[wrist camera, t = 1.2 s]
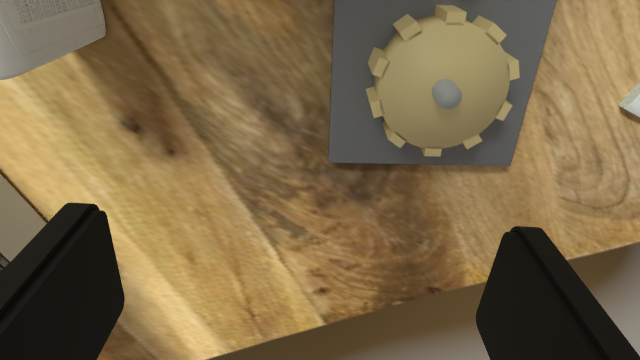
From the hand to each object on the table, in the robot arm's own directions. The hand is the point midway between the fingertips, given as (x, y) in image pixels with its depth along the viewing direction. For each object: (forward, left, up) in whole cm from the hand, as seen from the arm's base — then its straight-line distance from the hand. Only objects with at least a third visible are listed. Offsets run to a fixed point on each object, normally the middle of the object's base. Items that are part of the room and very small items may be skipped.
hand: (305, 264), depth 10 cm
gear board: (-3, +9, -25) cm, 26 cm away
